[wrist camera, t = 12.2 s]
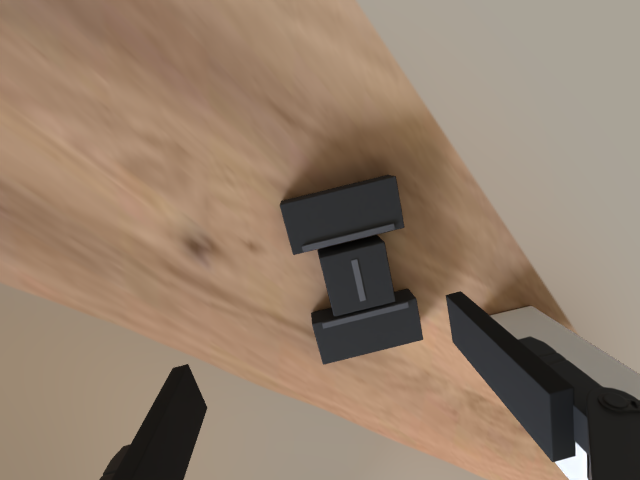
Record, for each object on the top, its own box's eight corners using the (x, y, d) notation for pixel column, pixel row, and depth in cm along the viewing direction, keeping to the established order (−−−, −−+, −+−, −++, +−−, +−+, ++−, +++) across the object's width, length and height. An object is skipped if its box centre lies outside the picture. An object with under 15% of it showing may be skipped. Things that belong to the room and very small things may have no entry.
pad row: (280, 201, 32) (279, 205, 29) (388, 174, 32) (396, 176, 29) (321, 351, 36) (323, 366, 34) (415, 327, 36) (424, 340, 34)
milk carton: (530, 304, 37) (765, 452, 18) (533, 356, 38) (748, 538, 20) (470, 318, 37) (645, 481, 18) (476, 370, 38) (640, 565, 20)
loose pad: (317, 249, 33) (319, 258, 30) (376, 234, 33) (384, 242, 30) (330, 303, 35) (334, 317, 32) (387, 289, 35) (396, 301, 32)
